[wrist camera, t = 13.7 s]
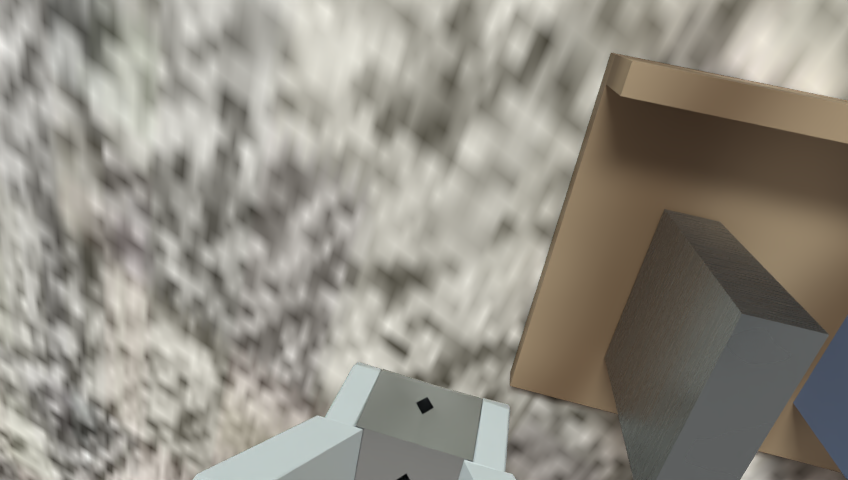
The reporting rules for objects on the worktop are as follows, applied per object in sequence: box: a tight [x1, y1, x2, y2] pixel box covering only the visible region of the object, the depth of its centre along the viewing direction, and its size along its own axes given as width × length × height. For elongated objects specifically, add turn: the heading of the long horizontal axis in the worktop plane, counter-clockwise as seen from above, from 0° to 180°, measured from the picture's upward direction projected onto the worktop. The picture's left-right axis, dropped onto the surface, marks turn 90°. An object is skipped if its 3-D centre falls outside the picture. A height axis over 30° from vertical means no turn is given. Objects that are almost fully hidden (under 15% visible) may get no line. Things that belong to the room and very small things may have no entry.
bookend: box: [605, 209, 829, 480], centre depth 14 cm, size 2×6×6 cm, turn 170°
